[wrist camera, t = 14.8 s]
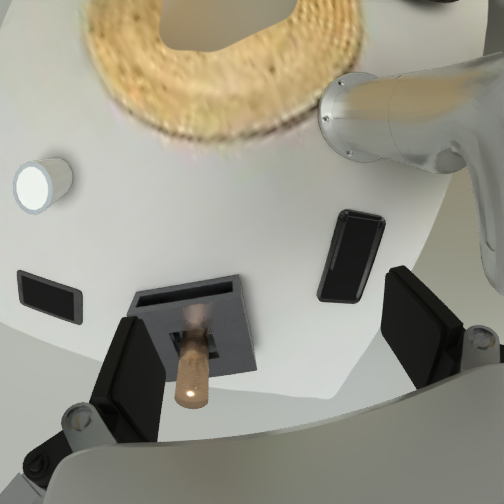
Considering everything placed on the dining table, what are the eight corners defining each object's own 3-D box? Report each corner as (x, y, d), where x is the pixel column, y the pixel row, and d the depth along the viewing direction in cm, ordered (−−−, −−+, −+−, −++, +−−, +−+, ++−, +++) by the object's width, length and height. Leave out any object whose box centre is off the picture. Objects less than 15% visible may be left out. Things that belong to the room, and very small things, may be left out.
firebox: (238, 274, 44) (241, 297, 39) (253, 345, 50) (257, 371, 44) (136, 292, 44) (126, 315, 38) (163, 358, 50) (159, 383, 44)
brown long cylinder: (181, 312, 46) (170, 390, 32) (206, 308, 46) (203, 387, 32) (189, 334, 48) (181, 412, 33) (213, 330, 48) (212, 409, 34)
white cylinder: (83, 186, 37) (60, 199, 30) (51, 208, 37) (26, 224, 31) (64, 144, 34) (38, 150, 27) (32, 168, 34) (5, 179, 28)
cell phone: (83, 323, 46) (82, 326, 45) (21, 301, 43) (19, 303, 43) (83, 289, 43) (81, 291, 43) (17, 267, 41) (15, 269, 40)
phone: (387, 218, 42) (358, 304, 48) (384, 216, 43) (356, 300, 49) (341, 209, 41) (315, 301, 47) (338, 207, 42) (313, 297, 48)
